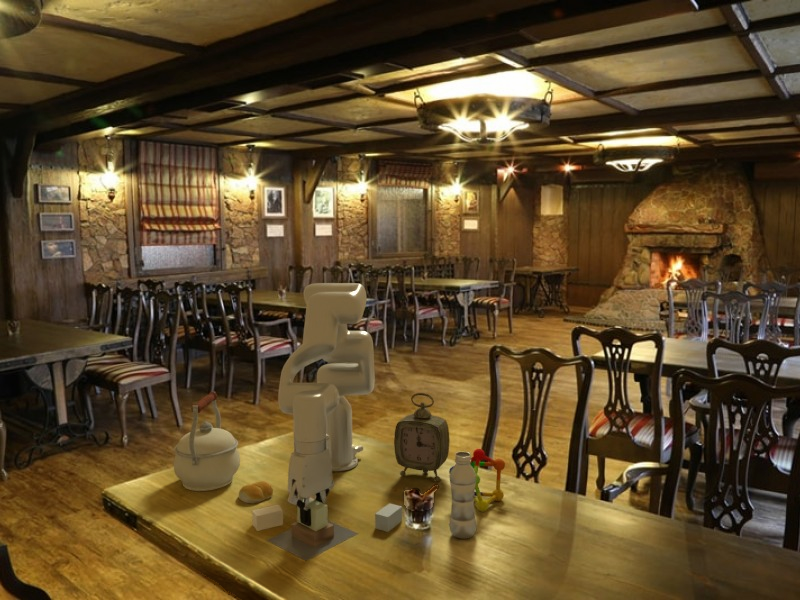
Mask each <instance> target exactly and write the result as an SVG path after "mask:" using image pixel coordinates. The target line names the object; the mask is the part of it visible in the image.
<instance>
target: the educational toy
mask: <svg viewBox="0 0 800 600" xmlns="http://www.w3.org/2000/svg"><path fill="white" fill-rule="evenodd" d="M483 460H485V461H486V462H485V461H483ZM470 465H471V466H472V467H473V469H474V471H475V473H476V485H475V493H474V503H475V504H476V505H475V506H476V508H477V510H478V511H479V512H487V511H488V509H489V504H490V503H492V502H493V501H496V502H500V501H502V500H503V499H504V495H505V494H504V491H502V490H501V477H502V475H501V474H502V471H503V470H504V469H505V467H506V463H505V461H504V460H503V459H502V458H496V459H493V458H491V457H489V456H487V455H486V452H485V451H484V449H481V448H476V449H475V450H474V451H473V453H472V456H471V463H470ZM454 466H455V465H453V466H451V467H450V468H449V470H448V472H449V475H450V472H451V470H452V468H453V467H454ZM480 466H481V467H493V468H494V470H496V483H495V485H496V487H495V489H494V490H493V491H492V492H486V491H485V492H483V491H482V492H481V490H480V487H479V484H480V482H481V478H480V476H479V473H478V471H479V467H480ZM483 497H489V498H487V499H484V498H483Z"/></svg>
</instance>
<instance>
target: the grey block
mask: <svg viewBox="0 0 800 600" xmlns="http://www.w3.org/2000/svg"><path fill="white" fill-rule="evenodd" d="M374 516H375V517H374V524H375V525H374V527H375V529H376V530H379V531H384V532H386V533H389V532H390V531H391V530H393V529H394V528H396V527H397V526H398V525H399V524H400V523H402V522H403V506H401V505H397V504H394V503H390V502H389V503H388V504H387V505H385V506H384V507H383V508H380V510H378V511H377V512H375V513H374Z"/></svg>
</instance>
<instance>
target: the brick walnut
mask: <svg viewBox="0 0 800 600" xmlns="http://www.w3.org/2000/svg"><path fill="white" fill-rule="evenodd" d="M291 529H292V537H295V538H297V539H299V540H301V541H303V542H305V543H307V544H309V545H311V546H313V547H316V546H318V545H320V544H322V543H324V542H326V541H328V540H330V539H332V538H334V525H332V524H330V523H328V526H326V527H324V528H322V529H320V530H318V531H314V530H312V529H310V528H308V527H306V526H304V525H302V524H301V523H299V522H297V521H295V522H292V523H291Z"/></svg>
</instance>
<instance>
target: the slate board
mask: <svg viewBox="0 0 800 600" xmlns="http://www.w3.org/2000/svg"><path fill="white" fill-rule="evenodd" d="M328 523H330V524H332V525H334V538H332V539H330V540H328V541H326V542H324V543H322V544H320V545H318V546H316V547H313V546H311V545H309V544H307V543H305V542H303V541H301V540H299V539H297V538H295V537H292V528H290V529H288V530H285V531H283V532H281V533H279V534H277V535H275V536H272V537H270V538H268V539H266V541H267V542H269V543H271V544H273V545H275V546H277V547H279V548H280V549H283V550H284V551H287V552H288V553H290V554H292V555H294V556H296V557H297V558H300V559H301V560H304V561H305V562H306V561H309V560H311V559H312V558H315V557H317V556H319V555H320V554H322V553H324V552H326V551H328V550H330V549H332V548H334V547H336V546H337V545H339V544H341V543H344V542H345V541H347V540H349V539H351V538H353V537H354V536H356V535H358V534H359V533H358V532H356V531H353V530H352V529H349V528H347V527H345V526H343V525H340V524H338V523H335V522H333V521H331V520H329V519H328Z"/></svg>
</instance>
